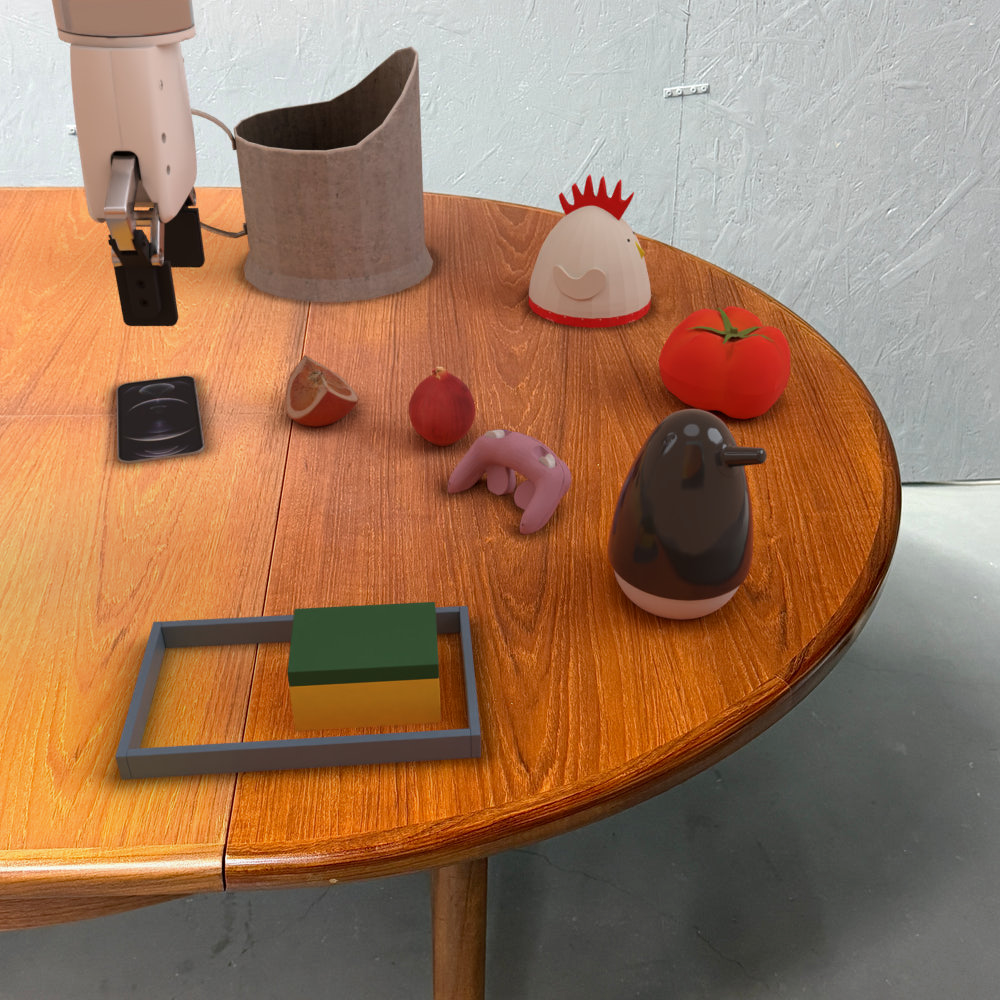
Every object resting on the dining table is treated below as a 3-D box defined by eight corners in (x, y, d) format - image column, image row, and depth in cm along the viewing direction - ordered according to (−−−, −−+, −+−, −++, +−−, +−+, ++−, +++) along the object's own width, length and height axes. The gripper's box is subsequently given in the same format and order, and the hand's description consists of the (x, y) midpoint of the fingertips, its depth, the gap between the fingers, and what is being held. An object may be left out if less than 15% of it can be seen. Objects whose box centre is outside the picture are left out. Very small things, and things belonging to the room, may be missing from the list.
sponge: (295, 732, 67) (287, 672, 64) (301, 666, 72) (294, 608, 69) (440, 724, 67) (438, 663, 64) (437, 659, 72) (435, 601, 69)
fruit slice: (278, 405, 103) (272, 357, 100) (346, 393, 105) (342, 346, 102) (298, 446, 97) (292, 397, 94) (370, 432, 99) (367, 384, 96)
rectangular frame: (123, 786, 63) (115, 757, 62) (159, 649, 74) (153, 621, 72) (481, 764, 65) (480, 734, 64) (468, 633, 75) (467, 605, 74)
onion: (433, 424, 100) (431, 346, 96) (487, 440, 98) (487, 360, 93) (398, 452, 96) (394, 371, 91) (453, 469, 93) (451, 387, 89)
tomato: (637, 380, 108) (644, 300, 103) (754, 369, 110) (765, 290, 105) (681, 442, 98) (690, 357, 93) (808, 429, 100) (824, 345, 95)
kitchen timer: (634, 339, 116) (645, 202, 108) (513, 322, 119) (514, 188, 111) (660, 292, 127) (671, 164, 119) (548, 278, 130) (551, 153, 122)
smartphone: (117, 463, 92) (115, 383, 104) (119, 471, 93) (117, 392, 105) (205, 450, 94) (194, 374, 106) (207, 459, 95) (196, 382, 107)
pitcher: (452, 295, 126) (447, 70, 112) (173, 324, 118) (131, 87, 105) (413, 230, 144) (405, 30, 130) (169, 252, 137) (133, 42, 123)
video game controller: (559, 540, 87) (588, 460, 86) (524, 540, 84) (554, 457, 82) (474, 493, 93) (500, 417, 91) (438, 491, 89) (465, 412, 88)
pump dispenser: (698, 663, 73) (726, 472, 64) (576, 599, 78) (586, 417, 70) (772, 592, 79) (806, 411, 71) (654, 538, 85) (672, 364, 77)
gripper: (94, -16, 68) (137, 246, 77) (6, 35, 53) (72, 351, 63) (215, -14, 68) (244, 247, 77) (161, 38, 54) (203, 350, 63)
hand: (167, 293), depth 70 cm, fingers open, 9 cm apart
